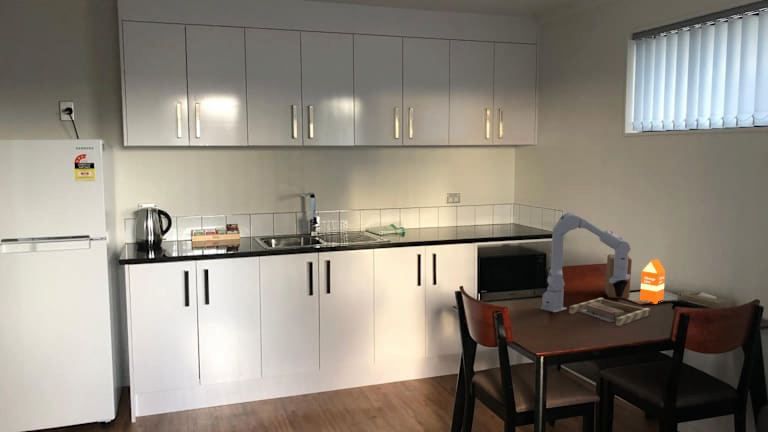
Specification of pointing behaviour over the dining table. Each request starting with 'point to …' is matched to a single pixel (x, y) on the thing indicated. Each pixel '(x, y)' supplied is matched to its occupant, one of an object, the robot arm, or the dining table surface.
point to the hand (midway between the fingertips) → (618, 296)
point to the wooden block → (610, 270)
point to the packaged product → (603, 311)
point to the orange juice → (652, 282)
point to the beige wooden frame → (621, 320)
